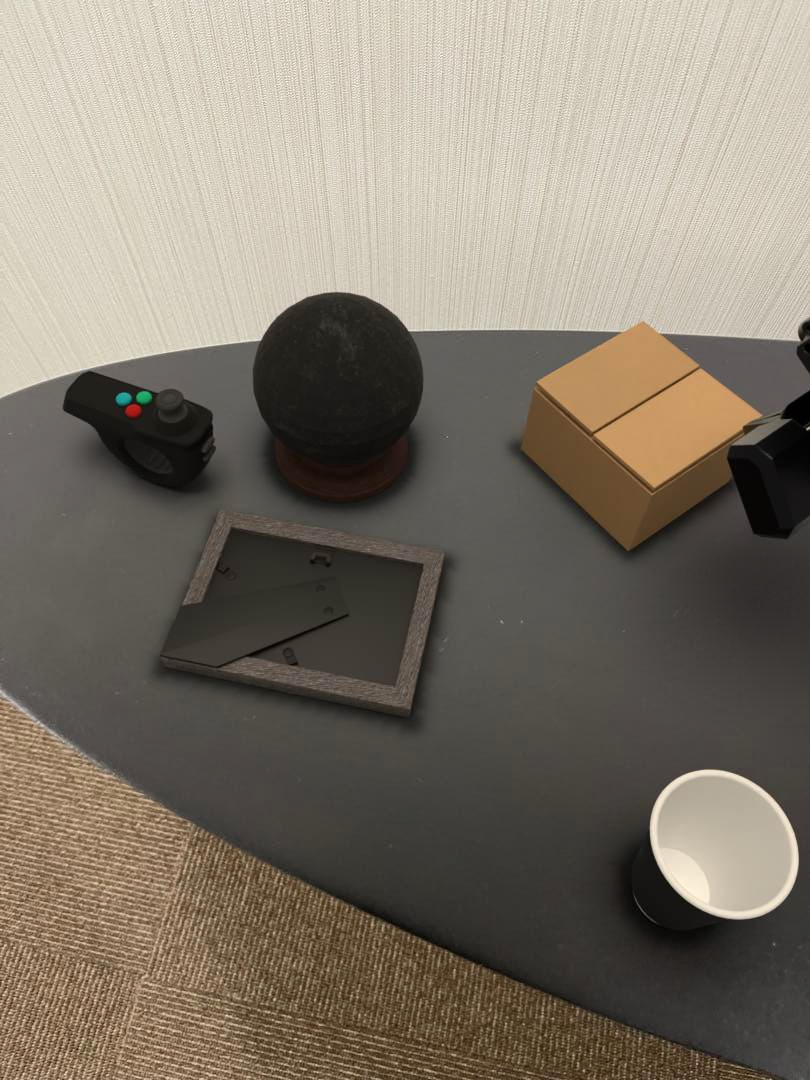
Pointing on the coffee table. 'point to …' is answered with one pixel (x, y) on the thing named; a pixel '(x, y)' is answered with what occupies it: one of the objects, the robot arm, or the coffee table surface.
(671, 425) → the flap
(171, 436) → the controller
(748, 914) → the dixie cup
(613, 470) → the carton
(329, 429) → the black ball on stand
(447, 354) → the coffee table surface
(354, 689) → the picture frame
